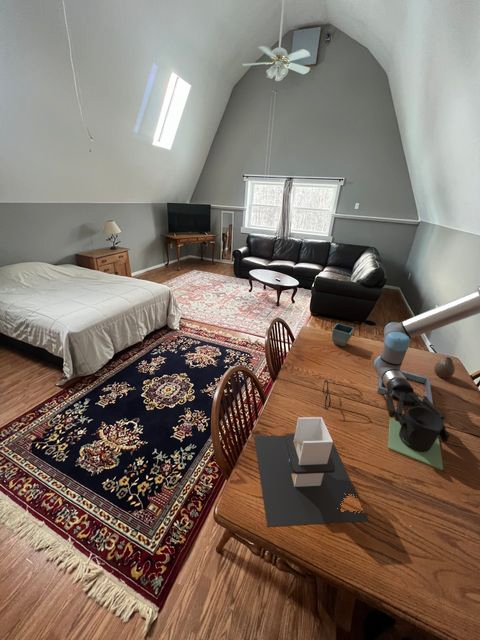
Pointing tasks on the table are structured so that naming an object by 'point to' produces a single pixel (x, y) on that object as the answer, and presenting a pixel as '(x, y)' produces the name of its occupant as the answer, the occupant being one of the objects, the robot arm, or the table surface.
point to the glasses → (330, 399)
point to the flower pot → (341, 334)
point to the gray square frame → (412, 377)
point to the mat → (398, 446)
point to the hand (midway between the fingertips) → (429, 436)
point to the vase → (445, 368)
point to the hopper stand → (304, 477)
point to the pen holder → (421, 428)
